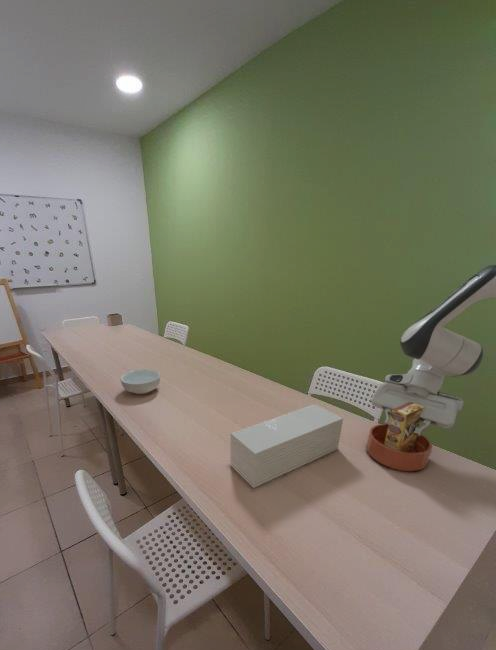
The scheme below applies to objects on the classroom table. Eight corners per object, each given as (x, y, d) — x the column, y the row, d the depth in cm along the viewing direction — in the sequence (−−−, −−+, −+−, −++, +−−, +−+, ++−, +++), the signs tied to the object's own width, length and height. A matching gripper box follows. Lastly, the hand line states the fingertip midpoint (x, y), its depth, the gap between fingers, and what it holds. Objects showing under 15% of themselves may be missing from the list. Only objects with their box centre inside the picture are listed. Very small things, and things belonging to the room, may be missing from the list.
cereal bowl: (126, 401, 124) (124, 386, 121) (119, 387, 138) (117, 373, 135) (166, 393, 130) (164, 378, 127) (155, 380, 144) (154, 366, 141)
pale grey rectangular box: (253, 488, 77) (255, 453, 72) (230, 465, 85) (230, 433, 81) (337, 449, 91) (343, 418, 87) (310, 432, 99) (314, 403, 95)
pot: (432, 455, 87) (438, 437, 85) (417, 480, 78) (423, 461, 75) (376, 434, 97) (380, 418, 95) (357, 455, 88) (361, 438, 86)
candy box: (394, 463, 83) (407, 415, 77) (380, 455, 87) (391, 408, 81) (412, 453, 87) (426, 406, 81) (398, 445, 91) (410, 400, 85)
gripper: (465, 403, 81) (446, 448, 79) (383, 382, 95) (365, 420, 93) (467, 393, 77) (447, 441, 74) (381, 373, 90) (362, 413, 88)
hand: (401, 429), depth 84 cm, fingers open, 6 cm apart
